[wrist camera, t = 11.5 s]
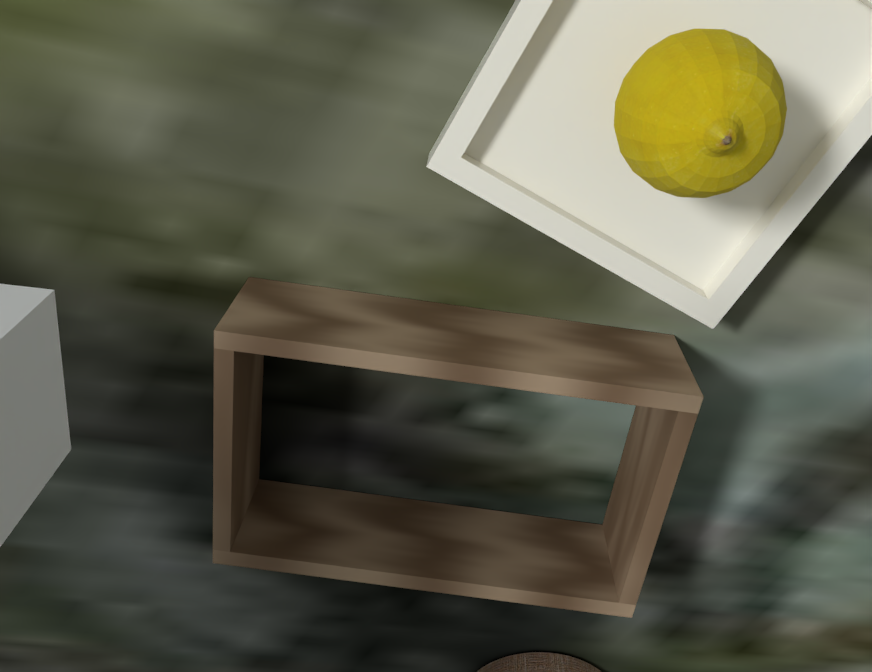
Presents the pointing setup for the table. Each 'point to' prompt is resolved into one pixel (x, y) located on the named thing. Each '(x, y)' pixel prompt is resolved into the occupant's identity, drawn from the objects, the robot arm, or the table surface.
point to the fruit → (700, 113)
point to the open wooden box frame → (436, 522)
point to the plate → (606, 167)
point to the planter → (539, 663)
